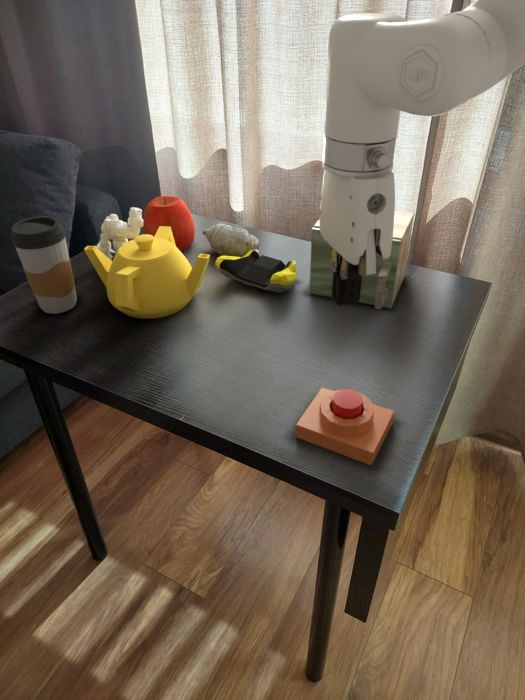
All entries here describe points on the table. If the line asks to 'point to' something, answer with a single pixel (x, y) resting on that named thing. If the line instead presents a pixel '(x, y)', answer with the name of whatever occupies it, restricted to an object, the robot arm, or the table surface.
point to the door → (373, 287)
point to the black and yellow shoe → (259, 271)
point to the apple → (170, 220)
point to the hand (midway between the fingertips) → (345, 300)
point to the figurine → (119, 231)
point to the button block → (345, 427)
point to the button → (347, 404)
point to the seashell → (231, 240)
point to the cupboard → (403, 233)
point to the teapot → (149, 275)
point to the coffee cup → (46, 262)
